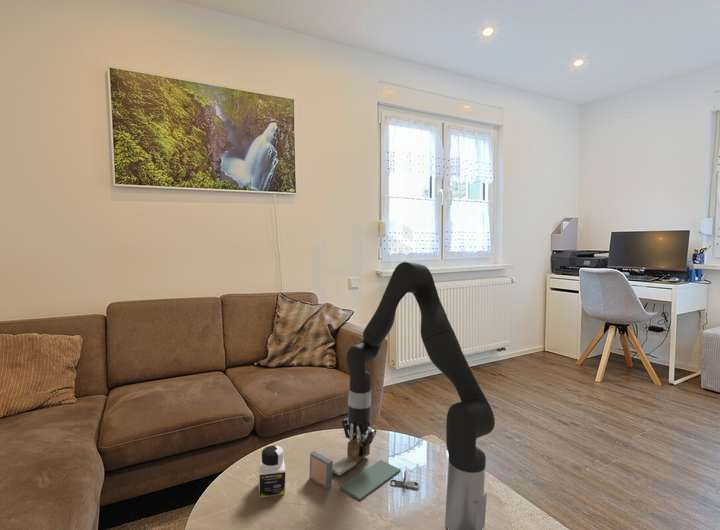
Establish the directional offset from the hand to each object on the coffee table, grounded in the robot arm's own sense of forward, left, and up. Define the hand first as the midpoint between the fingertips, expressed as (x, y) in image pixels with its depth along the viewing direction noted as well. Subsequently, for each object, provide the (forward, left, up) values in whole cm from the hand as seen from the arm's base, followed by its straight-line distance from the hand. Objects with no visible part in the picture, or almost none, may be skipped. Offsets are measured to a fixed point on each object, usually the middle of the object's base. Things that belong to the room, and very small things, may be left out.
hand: (357, 453), depth 131 cm
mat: (-10, +5, -3) cm, 11 cm away
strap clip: (-19, 0, -3) cm, 19 cm away
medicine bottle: (+8, +29, -3) cm, 30 cm away
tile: (0, +17, -3) cm, 17 cm away
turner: (0, +4, -1) cm, 4 cm away
